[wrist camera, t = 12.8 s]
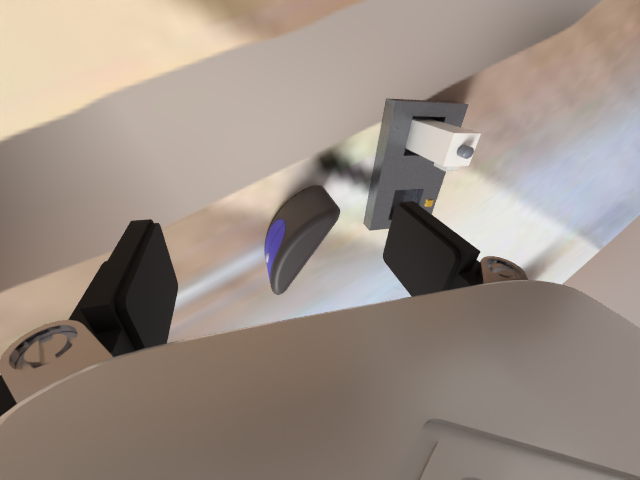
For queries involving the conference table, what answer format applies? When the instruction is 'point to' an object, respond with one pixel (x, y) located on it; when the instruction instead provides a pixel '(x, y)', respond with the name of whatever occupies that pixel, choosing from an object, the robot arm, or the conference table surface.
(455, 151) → the plug
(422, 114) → the panel
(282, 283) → the leaning round-cornered charcoal block
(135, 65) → the conference table surface
